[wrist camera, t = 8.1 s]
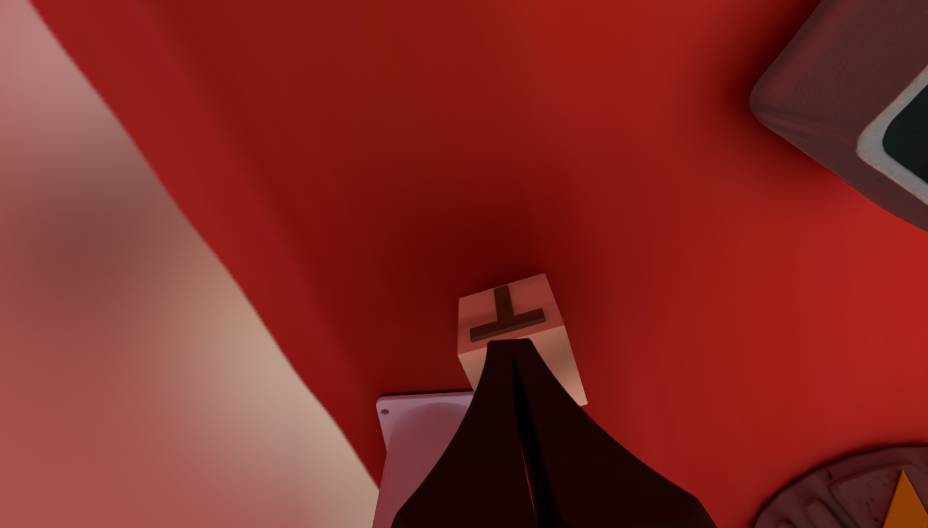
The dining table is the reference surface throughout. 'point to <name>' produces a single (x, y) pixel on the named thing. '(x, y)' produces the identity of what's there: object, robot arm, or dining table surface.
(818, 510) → the decorative lamp
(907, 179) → the flower pot
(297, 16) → the dining table surface
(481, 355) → the letter cube
